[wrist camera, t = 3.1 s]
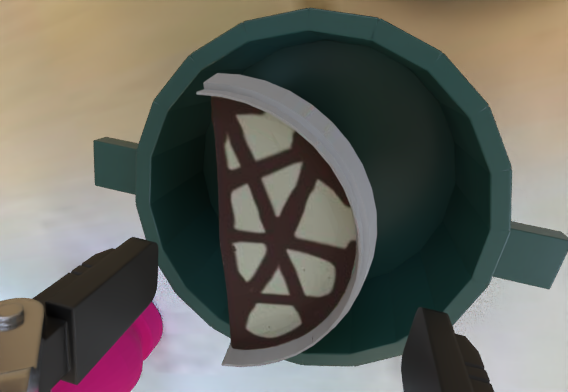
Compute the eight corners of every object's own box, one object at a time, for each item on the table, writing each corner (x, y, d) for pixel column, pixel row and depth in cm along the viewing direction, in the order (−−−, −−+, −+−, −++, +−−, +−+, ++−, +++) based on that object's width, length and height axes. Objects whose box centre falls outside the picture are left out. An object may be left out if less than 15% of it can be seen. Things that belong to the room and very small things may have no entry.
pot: (160, -2, 22) (75, -27, 15) (572, 60, 19) (675, 60, 12) (152, 251, 28) (90, 306, 21) (464, 328, 25) (497, 420, 18)
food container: (368, 269, 24) (368, 397, 15) (274, 262, 26) (222, 375, 16) (380, 67, 20) (391, 71, 11) (268, 69, 22) (194, 74, 12)
